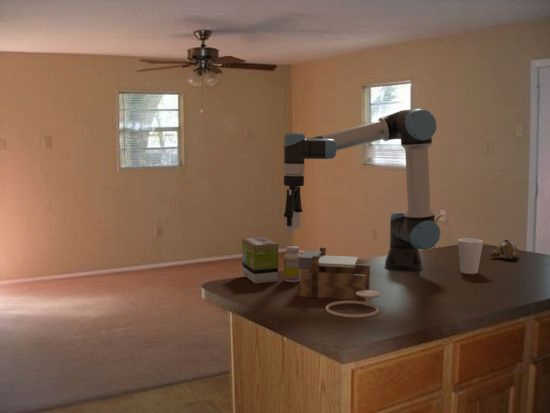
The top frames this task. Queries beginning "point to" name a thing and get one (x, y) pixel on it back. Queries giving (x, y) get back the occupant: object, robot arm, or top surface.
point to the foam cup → (469, 254)
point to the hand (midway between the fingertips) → (293, 232)
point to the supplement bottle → (292, 265)
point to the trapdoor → (325, 260)
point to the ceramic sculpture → (505, 250)
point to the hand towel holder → (363, 293)
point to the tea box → (260, 259)
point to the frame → (334, 281)
